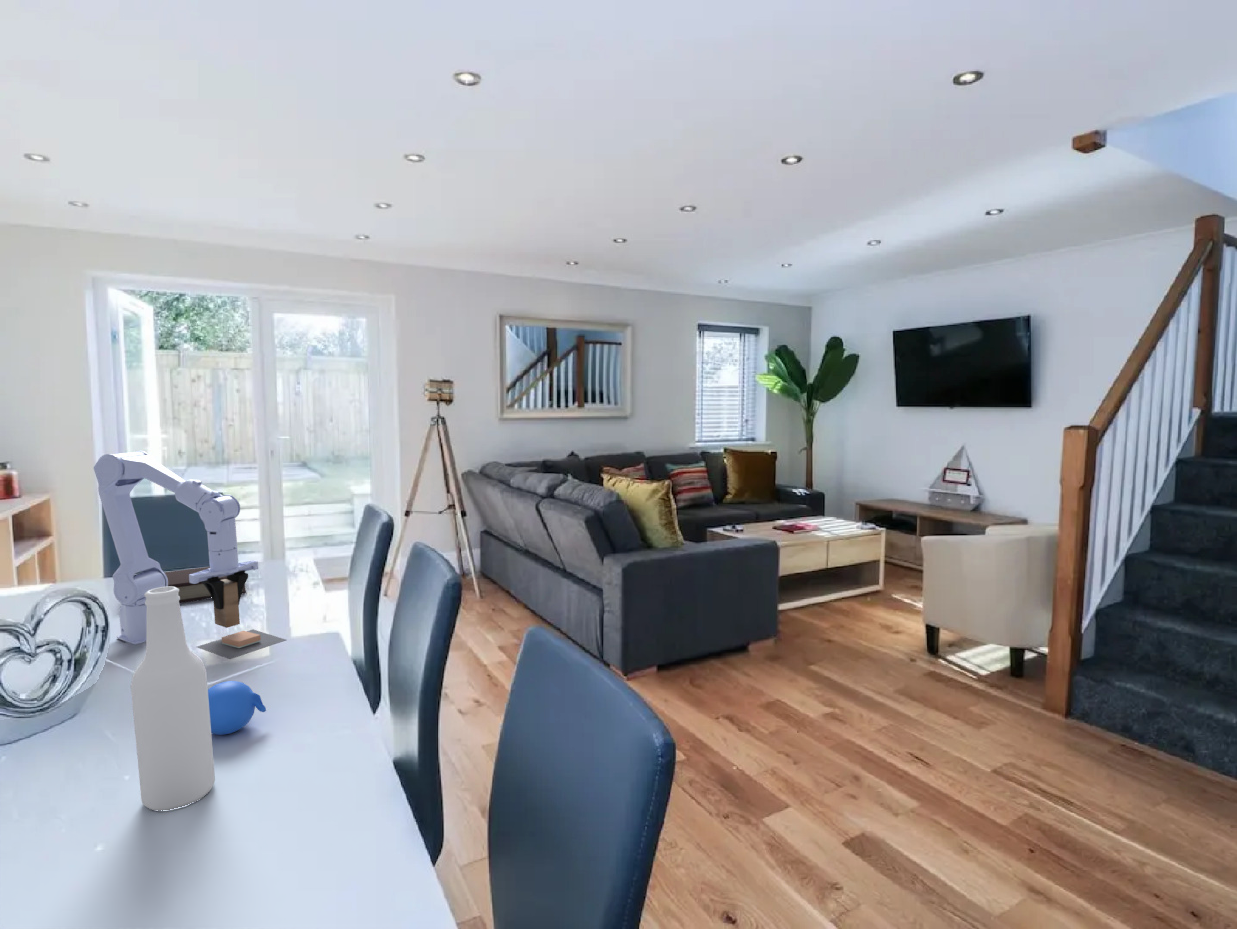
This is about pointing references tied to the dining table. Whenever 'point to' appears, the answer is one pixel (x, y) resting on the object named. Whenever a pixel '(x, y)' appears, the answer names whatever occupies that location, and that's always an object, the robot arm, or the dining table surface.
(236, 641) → the tile
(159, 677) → the alcohol
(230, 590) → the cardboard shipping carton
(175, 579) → the book
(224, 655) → the mat
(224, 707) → the blue rounded blob
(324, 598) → the dining table surface
